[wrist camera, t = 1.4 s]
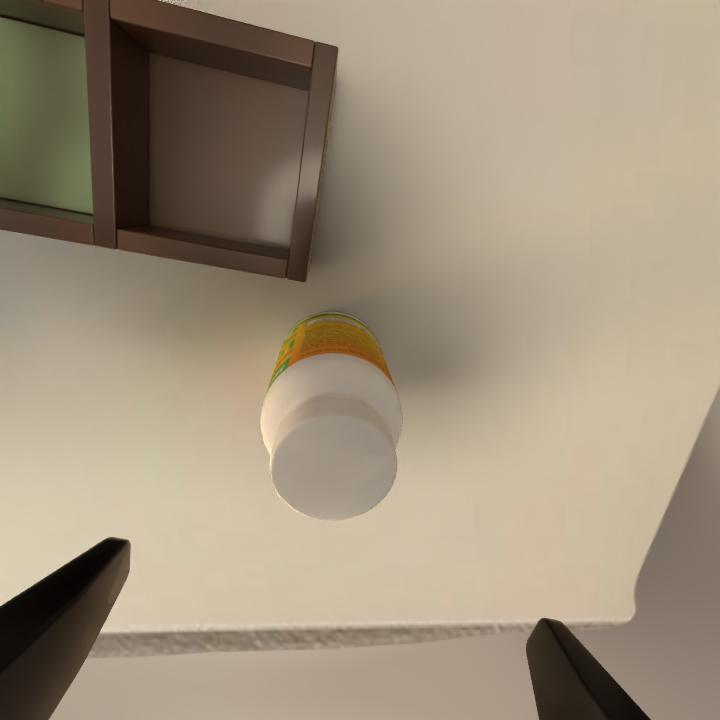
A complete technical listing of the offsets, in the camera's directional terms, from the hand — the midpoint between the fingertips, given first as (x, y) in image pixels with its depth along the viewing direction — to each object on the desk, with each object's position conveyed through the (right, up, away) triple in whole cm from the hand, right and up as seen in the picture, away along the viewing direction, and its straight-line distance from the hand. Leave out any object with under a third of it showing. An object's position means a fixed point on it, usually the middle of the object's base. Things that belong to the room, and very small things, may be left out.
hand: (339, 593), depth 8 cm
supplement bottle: (-1, +5, +13) cm, 14 cm away
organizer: (-9, +14, +8) cm, 19 cm away
